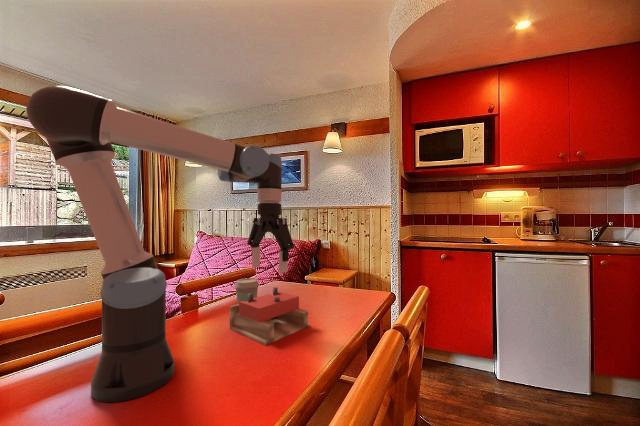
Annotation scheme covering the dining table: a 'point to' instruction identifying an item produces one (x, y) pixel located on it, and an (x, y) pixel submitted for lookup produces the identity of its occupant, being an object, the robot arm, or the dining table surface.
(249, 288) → the coffee cup
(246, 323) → the carcass
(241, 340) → the dining table surface
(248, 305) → the red rectangular block
